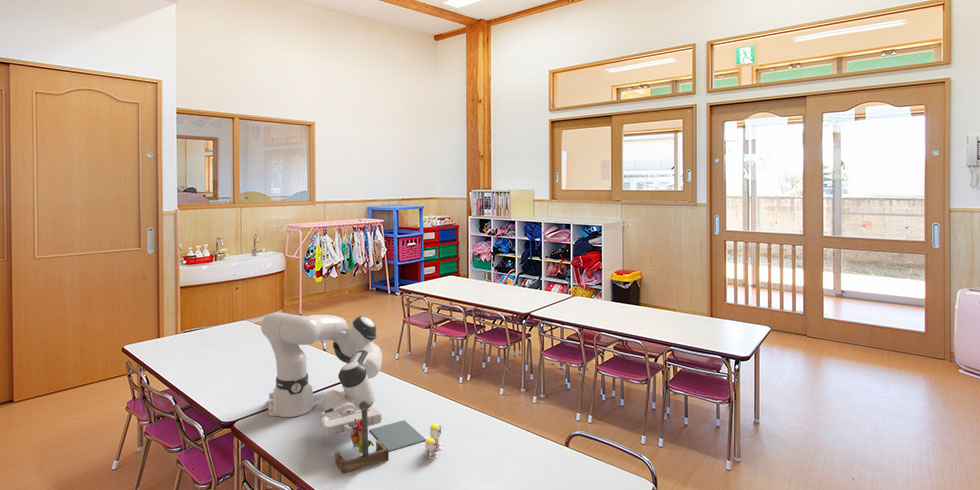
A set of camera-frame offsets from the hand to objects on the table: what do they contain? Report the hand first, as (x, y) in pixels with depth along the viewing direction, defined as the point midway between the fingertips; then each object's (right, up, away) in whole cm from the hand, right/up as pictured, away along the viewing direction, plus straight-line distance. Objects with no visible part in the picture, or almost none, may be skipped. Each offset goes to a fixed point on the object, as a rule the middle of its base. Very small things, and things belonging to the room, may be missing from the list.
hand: (359, 430), depth 177 cm
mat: (+9, -8, +17) cm, 21 cm away
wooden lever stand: (+1, -10, -1) cm, 10 cm away
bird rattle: (0, -7, +2) cm, 7 cm away
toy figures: (+24, -9, +6) cm, 27 cm away
